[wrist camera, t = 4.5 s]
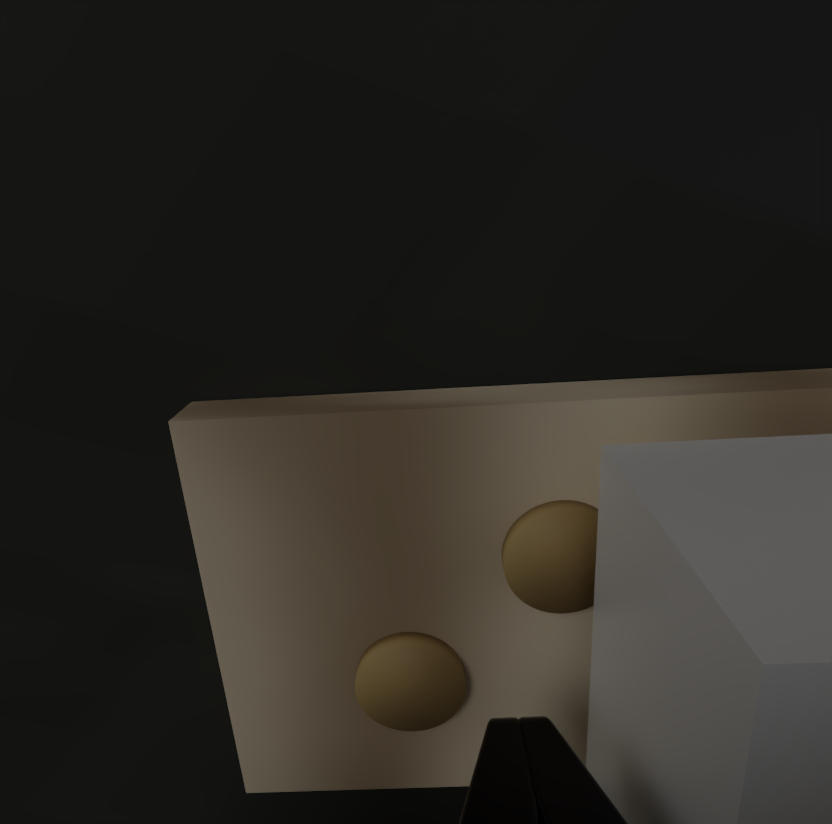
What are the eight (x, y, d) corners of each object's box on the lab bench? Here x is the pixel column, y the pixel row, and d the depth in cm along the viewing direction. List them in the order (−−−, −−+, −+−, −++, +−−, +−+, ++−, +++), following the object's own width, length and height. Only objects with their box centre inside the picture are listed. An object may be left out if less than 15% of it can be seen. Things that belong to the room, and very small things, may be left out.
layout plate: (259, 749, 13) (242, 807, 12) (192, 401, 10) (160, 428, 9) (1115, 722, 12) (1192, 779, 11) (1276, 345, 10) (1401, 365, 8)
